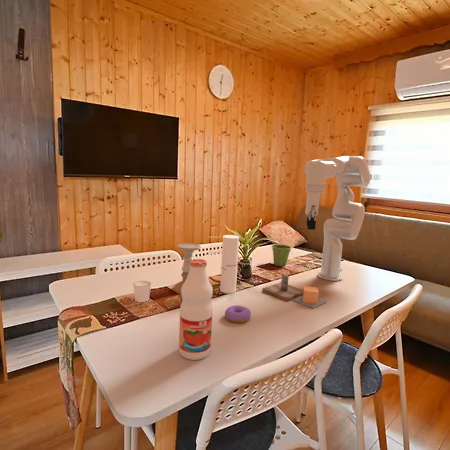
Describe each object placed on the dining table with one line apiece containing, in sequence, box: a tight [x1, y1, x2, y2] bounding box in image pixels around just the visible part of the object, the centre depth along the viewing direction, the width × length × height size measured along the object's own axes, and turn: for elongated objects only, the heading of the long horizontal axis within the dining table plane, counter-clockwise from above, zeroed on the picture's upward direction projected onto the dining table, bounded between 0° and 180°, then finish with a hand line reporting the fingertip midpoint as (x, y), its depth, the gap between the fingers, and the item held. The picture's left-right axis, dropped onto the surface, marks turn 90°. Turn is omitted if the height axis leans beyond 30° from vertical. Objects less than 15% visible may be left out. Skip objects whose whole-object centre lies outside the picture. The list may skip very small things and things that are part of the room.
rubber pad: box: [292, 295, 327, 309], centre depth 137 cm, size 10×10×1 cm
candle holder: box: [173, 242, 201, 294], centre depth 142 cm, size 12×12×20 cm
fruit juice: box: [178, 258, 214, 361], centre depth 93 cm, size 9×9×28 cm
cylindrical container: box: [219, 234, 240, 294], centre depth 143 cm, size 7×7×25 cm
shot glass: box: [132, 280, 152, 303], centre depth 129 cm, size 7×7×7 cm
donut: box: [224, 305, 252, 324], centre depth 118 cm, size 10×9×5 cm
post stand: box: [261, 273, 303, 302], centre depth 145 cm, size 14×14×8 cm
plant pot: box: [271, 243, 293, 267], centre depth 189 cm, size 12×12×11 cm
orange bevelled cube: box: [302, 285, 320, 304], centre depth 136 cm, size 6×6×5 cm
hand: (310, 227), depth 143 cm, fingers open, 9 cm apart
